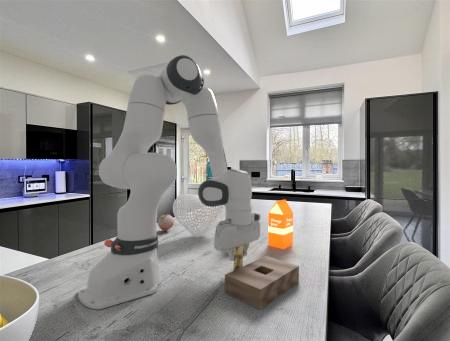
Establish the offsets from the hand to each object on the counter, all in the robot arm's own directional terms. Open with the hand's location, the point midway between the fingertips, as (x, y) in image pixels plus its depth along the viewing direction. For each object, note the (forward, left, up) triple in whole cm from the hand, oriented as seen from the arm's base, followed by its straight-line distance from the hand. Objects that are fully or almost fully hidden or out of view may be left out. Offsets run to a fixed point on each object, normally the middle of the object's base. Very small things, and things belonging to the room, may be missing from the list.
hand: (238, 258), depth 84 cm
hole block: (-4, -13, -4) cm, 14 cm away
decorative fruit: (+11, +60, -4) cm, 61 cm away
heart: (+16, +39, -4) cm, 42 cm away
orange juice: (+34, +4, -4) cm, 35 cm away
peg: (0, 0, -4) cm, 4 cm away
